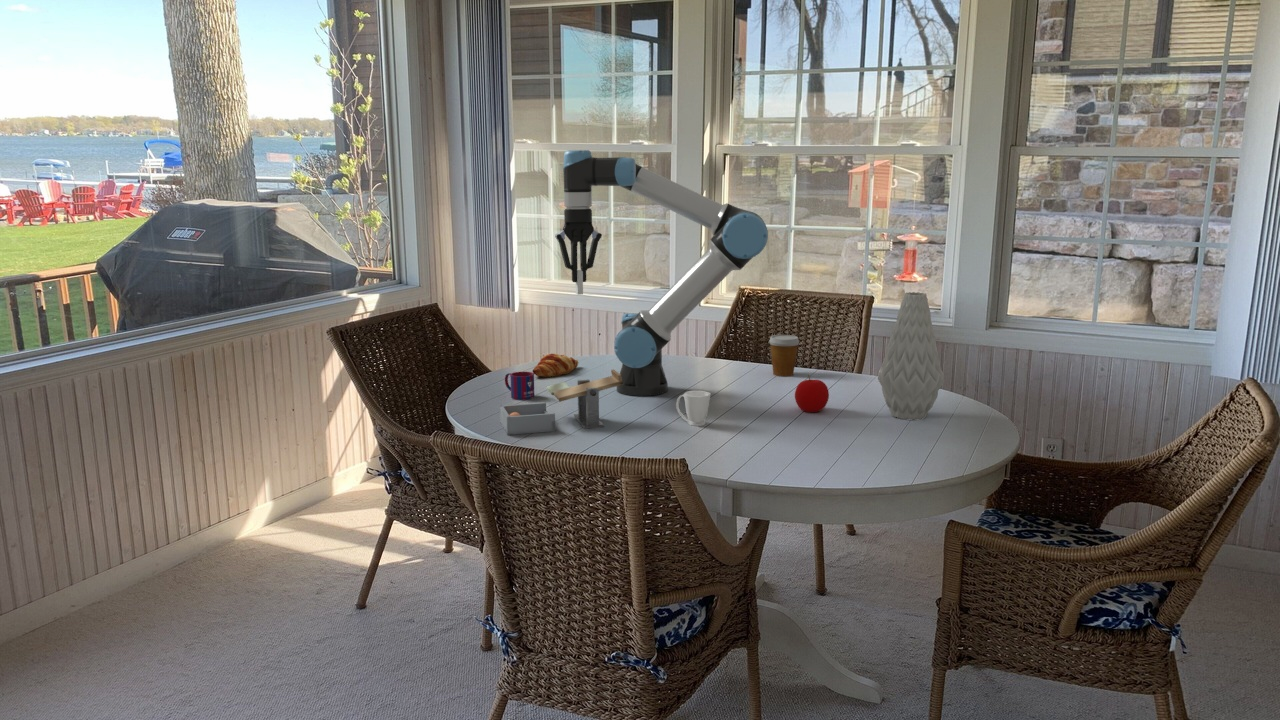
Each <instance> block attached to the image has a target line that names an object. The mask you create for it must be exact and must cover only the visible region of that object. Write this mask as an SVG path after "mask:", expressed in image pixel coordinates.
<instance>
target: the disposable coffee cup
mask: <svg viewBox="0 0 1280 720" xmlns="http://www.w3.org/2000/svg"><path fill="white" fill-rule="evenodd" d="M768 343H769V345H770V352H771V353H770V354H771V364H772V373H773V375H774V376H777V377H791V376H794V371H795V365H796V360H797V352H798V346H799V344H800V340H799V337H798V336H796V335H792V334H791V335H790V334H774V335H771V336H770V338H769V340H768Z"/></svg>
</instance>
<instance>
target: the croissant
mask: <svg viewBox="0 0 1280 720" xmlns="http://www.w3.org/2000/svg"><path fill="white" fill-rule="evenodd" d="M578 366H579V360H578V359H575V358H573V357H569V356H567V355H566V354H565V355H564V354H558V353H548V354H546V355H544V356H543V357H541V359H540V360H539V362H538V363H537V365H536V366H534V367H533V369H532V373H534V376H537V377H543V378H545V377H546V378H552V377H559V376H558V375H560V376H562V374H563V375H567V374H569V373H571V372H572V371H574V369H576V368H577V367H578ZM551 376H552V377H551Z"/></svg>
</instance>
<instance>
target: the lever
mask: <svg viewBox="0 0 1280 720" xmlns="http://www.w3.org/2000/svg"><path fill="white" fill-rule="evenodd" d="M610 372H611V375H610V376H608V377H607V376H606V377H603V378H598V379H595V380H592V381H590V382H588V383H584V384H580V385H578V384H577V385H574V386H573V385H572V386H569V385H568V384H567V383H566V382H565V381H563V382H559V383H555V384H551V385H548V386H546V387H545V388H546V390H547V391H548V392H549V394H550V395H551V396H553V397H555V398H556V400H557V401H559V402H563V401H564V402H565V401H567V400H572V399H574V398H575V399H576V398H578V397H579V396H583V395H586V388H599V392H601V391H605V390H608V389H611V388H615V387H616V388H617V386H619V385H623V382H622V377H621V375H620V372H618V371H617V370H616V369H614V368H613V369H611V370H610Z"/></svg>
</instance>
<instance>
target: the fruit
mask: <svg viewBox="0 0 1280 720" xmlns="http://www.w3.org/2000/svg"><path fill="white" fill-rule="evenodd" d="M807 377H808V379H805V380H803V381H801V382H799V383H798V384H797V386H796V388H795V391H794V400H795V403H796V405H797V406H798V408H799V410H801V411H802V412H806V413H817V412H820V411H822V410H824V409H825V407H826V406H827V404H828V402H829V399H830V392H829V388H828V386H827V384H826V383H825V382H824V381H823V380H820V379H811V377H810V374H808V375H807Z"/></svg>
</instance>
